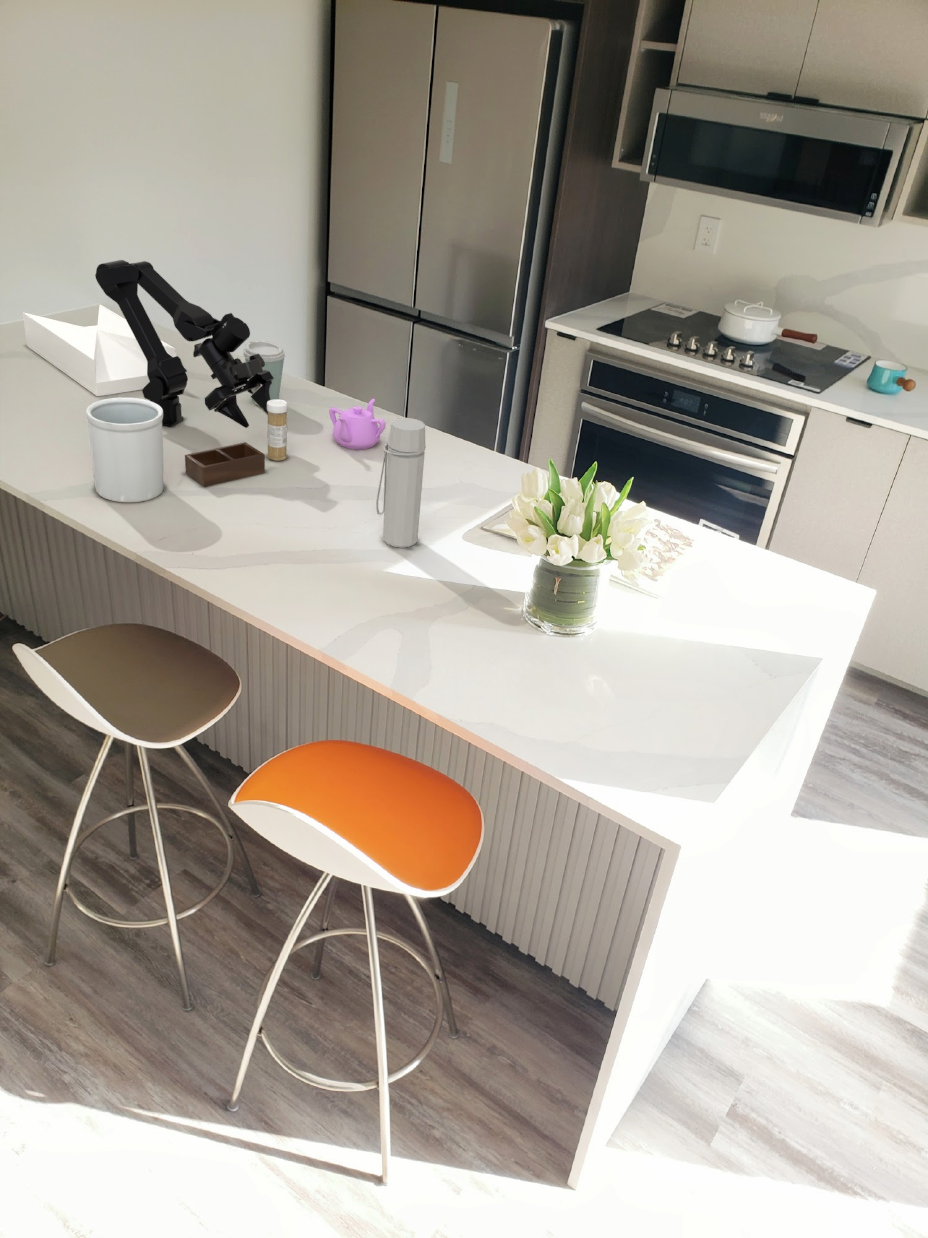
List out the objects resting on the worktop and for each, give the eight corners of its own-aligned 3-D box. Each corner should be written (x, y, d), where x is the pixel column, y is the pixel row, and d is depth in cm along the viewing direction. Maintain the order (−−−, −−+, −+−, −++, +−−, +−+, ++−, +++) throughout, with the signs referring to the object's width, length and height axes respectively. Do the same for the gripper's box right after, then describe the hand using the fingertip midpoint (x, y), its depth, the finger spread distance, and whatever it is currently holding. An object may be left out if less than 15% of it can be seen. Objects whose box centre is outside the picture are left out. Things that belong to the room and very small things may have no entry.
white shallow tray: (177, 383, 269) (175, 348, 264) (97, 396, 256) (93, 359, 251) (102, 336, 296) (99, 303, 291) (26, 345, 283) (22, 311, 278)
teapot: (338, 453, 240) (339, 417, 235) (326, 431, 251) (327, 397, 246) (386, 451, 244) (388, 416, 239) (372, 430, 255) (374, 396, 250)
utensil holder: (182, 486, 216) (178, 408, 207) (135, 510, 205) (128, 429, 196) (127, 469, 221) (121, 391, 212) (78, 492, 209) (69, 411, 200)
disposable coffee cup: (293, 403, 265) (294, 346, 257) (265, 413, 257) (265, 355, 249) (263, 392, 270) (262, 336, 262) (234, 402, 262) (233, 345, 254)
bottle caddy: (185, 473, 222) (184, 454, 220) (245, 460, 231) (245, 441, 229) (204, 487, 217) (203, 467, 215) (264, 472, 226) (264, 454, 224)
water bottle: (423, 537, 207) (433, 421, 194) (409, 553, 201) (418, 434, 188) (382, 527, 209) (389, 412, 196) (367, 542, 203) (373, 424, 190)
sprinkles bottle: (276, 452, 237) (276, 396, 230) (291, 457, 235) (291, 402, 228) (262, 457, 234) (262, 401, 227) (278, 463, 232) (278, 406, 225)
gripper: (213, 353, 218) (254, 414, 220) (267, 335, 232) (305, 393, 234) (186, 379, 225) (226, 439, 227) (240, 360, 239) (277, 417, 241)
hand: (260, 421), depth 232 cm, fingers open, 9 cm apart
